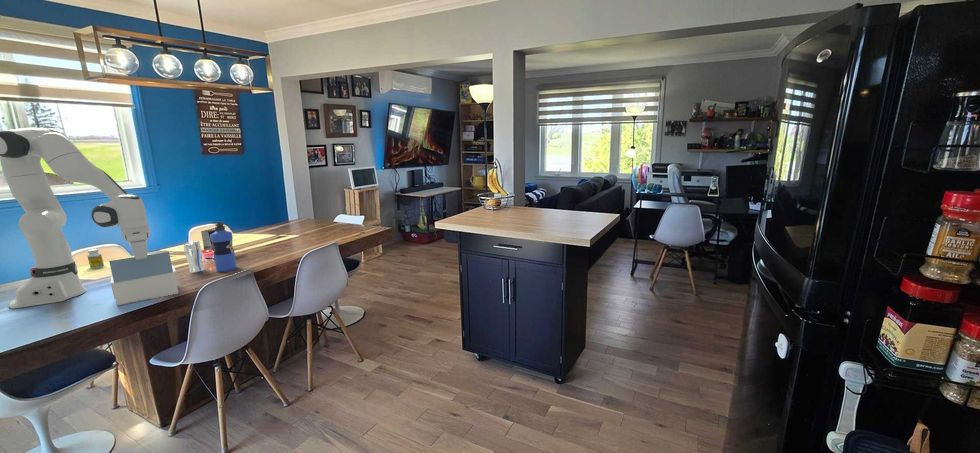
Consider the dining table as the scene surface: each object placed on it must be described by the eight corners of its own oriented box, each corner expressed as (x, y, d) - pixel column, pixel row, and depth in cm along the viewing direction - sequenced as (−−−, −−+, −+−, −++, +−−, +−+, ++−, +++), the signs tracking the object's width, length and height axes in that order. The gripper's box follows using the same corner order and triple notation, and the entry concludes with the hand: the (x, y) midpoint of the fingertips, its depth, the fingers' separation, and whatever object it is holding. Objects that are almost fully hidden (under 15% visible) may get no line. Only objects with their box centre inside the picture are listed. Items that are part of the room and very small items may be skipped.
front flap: (113, 282, 163) (113, 282, 162) (109, 260, 162) (109, 260, 162) (173, 272, 175) (173, 272, 175) (168, 251, 174) (169, 251, 174)
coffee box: (214, 259, 229) (209, 231, 225) (205, 258, 230) (200, 231, 226) (227, 254, 237) (223, 227, 234) (218, 254, 239) (214, 227, 235)
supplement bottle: (103, 264, 221) (100, 247, 219) (104, 266, 217) (100, 249, 215) (90, 267, 218) (86, 249, 216) (90, 269, 214) (86, 251, 212)
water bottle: (213, 273, 204) (204, 224, 199) (219, 267, 213) (212, 221, 208) (233, 271, 207) (226, 223, 201) (239, 265, 216) (232, 219, 210)
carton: (115, 306, 164) (110, 283, 162) (116, 296, 175) (111, 274, 173) (180, 293, 178) (175, 271, 176) (177, 284, 188) (173, 264, 186)
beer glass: (191, 274, 203) (185, 245, 200) (186, 271, 208) (181, 243, 204) (207, 270, 209) (202, 242, 206) (202, 267, 213) (197, 240, 210)
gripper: (125, 230, 173) (132, 261, 176) (126, 239, 159) (134, 272, 162) (145, 228, 178) (151, 258, 181) (147, 236, 163) (154, 268, 166)
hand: (143, 265), depth 171 cm, fingers closed
